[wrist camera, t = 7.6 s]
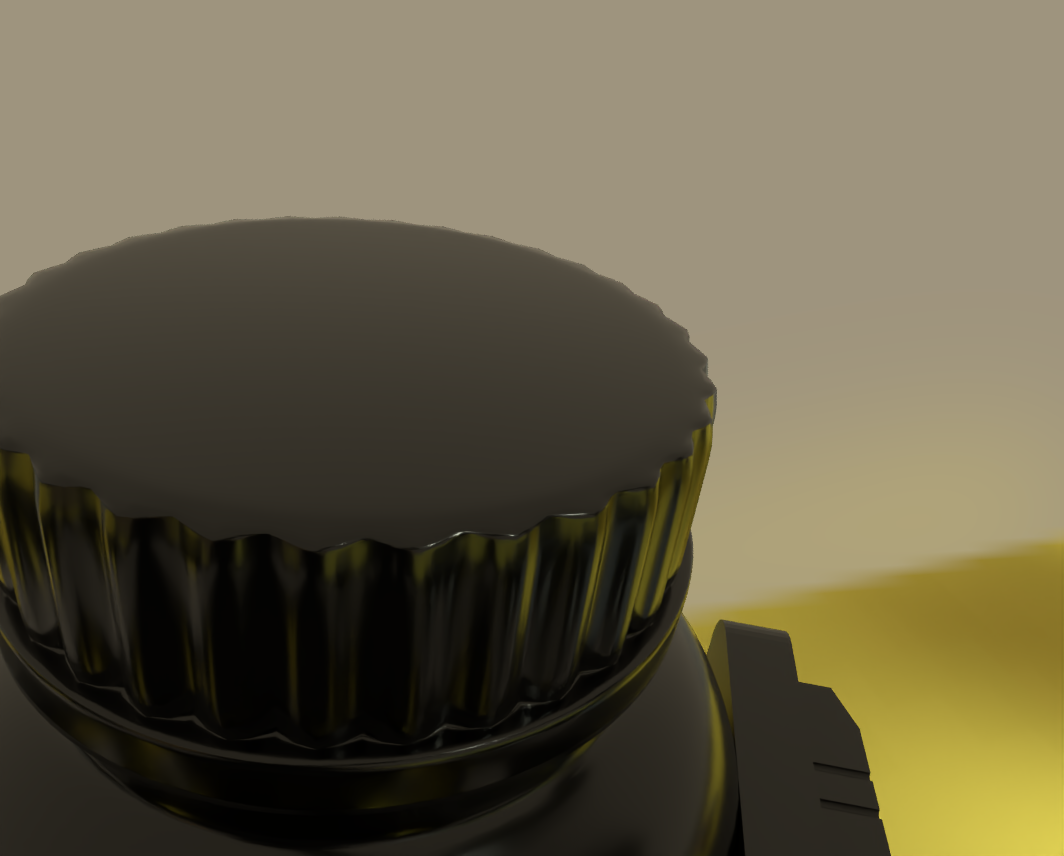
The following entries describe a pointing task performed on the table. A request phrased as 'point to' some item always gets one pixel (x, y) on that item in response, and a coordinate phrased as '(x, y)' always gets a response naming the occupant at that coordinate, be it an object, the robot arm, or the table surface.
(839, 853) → the robot arm
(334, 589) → the supplement bottle
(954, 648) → the table surface
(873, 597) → the table surface
